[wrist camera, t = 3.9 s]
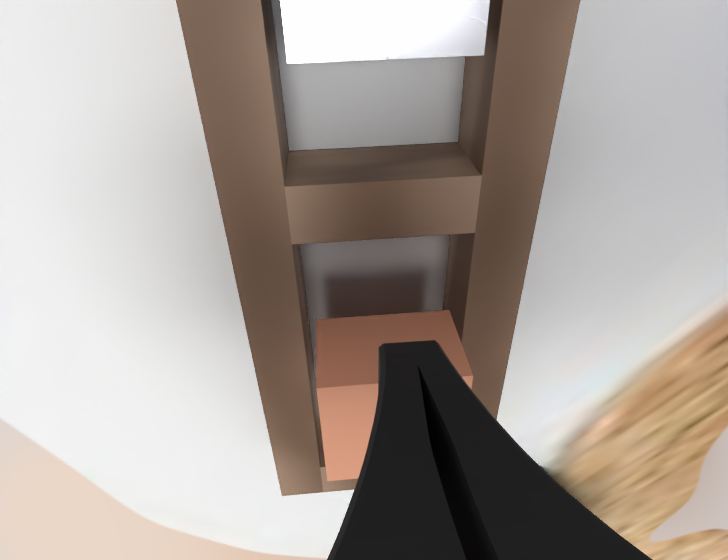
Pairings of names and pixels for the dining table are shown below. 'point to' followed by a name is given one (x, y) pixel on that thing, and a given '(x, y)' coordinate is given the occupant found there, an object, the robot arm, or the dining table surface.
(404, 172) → the brown ladder-shaped frame
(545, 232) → the dining table surface
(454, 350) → the salmon pink cube
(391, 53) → the silver metal block
